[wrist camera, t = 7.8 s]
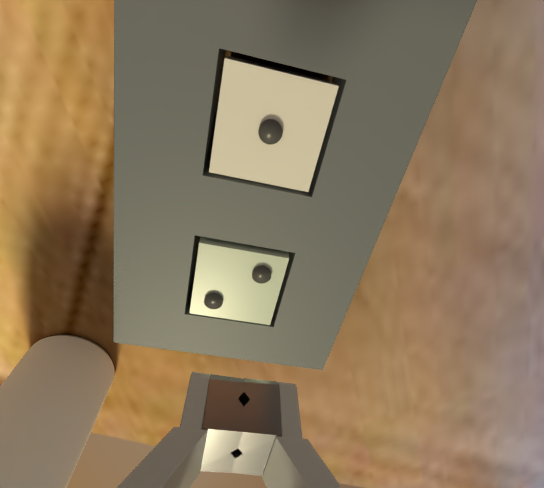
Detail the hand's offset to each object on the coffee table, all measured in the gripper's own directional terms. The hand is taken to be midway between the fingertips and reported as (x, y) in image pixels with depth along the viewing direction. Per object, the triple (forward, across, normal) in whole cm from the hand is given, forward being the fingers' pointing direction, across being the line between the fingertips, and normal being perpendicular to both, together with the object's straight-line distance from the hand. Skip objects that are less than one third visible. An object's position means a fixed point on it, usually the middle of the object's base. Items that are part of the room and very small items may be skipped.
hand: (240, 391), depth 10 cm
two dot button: (+13, 0, +4) cm, 13 cm away
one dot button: (+13, 0, -5) cm, 14 cm away
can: (+13, +11, +16) cm, 23 cm away
